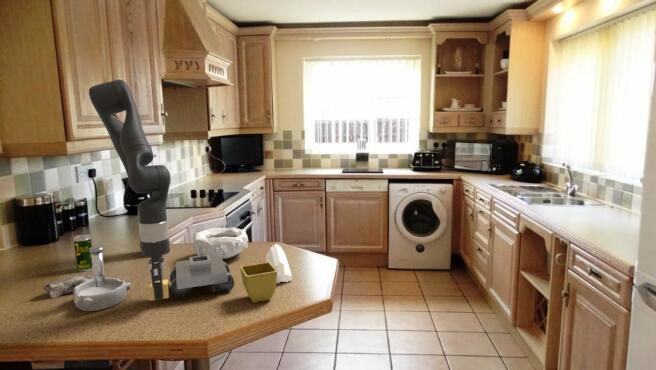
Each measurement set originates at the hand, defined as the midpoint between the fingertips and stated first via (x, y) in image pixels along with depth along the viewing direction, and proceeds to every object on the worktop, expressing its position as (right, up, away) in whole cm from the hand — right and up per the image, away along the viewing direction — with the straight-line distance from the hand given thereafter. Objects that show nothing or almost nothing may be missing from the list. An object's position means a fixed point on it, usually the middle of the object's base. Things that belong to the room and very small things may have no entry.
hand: (159, 295), depth 117 cm
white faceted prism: (+31, +2, +22) cm, 38 cm away
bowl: (+8, +4, +38) cm, 39 cm away
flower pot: (+28, -1, +1) cm, 28 cm away
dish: (-17, -2, +1) cm, 17 cm away
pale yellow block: (0, 0, 0) cm, 0 cm away
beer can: (-37, +2, +28) cm, 46 cm away
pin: (-17, +3, 0) cm, 17 cm away
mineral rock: (-30, -1, +10) cm, 32 cm away
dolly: (+9, 0, +9) cm, 13 cm away
